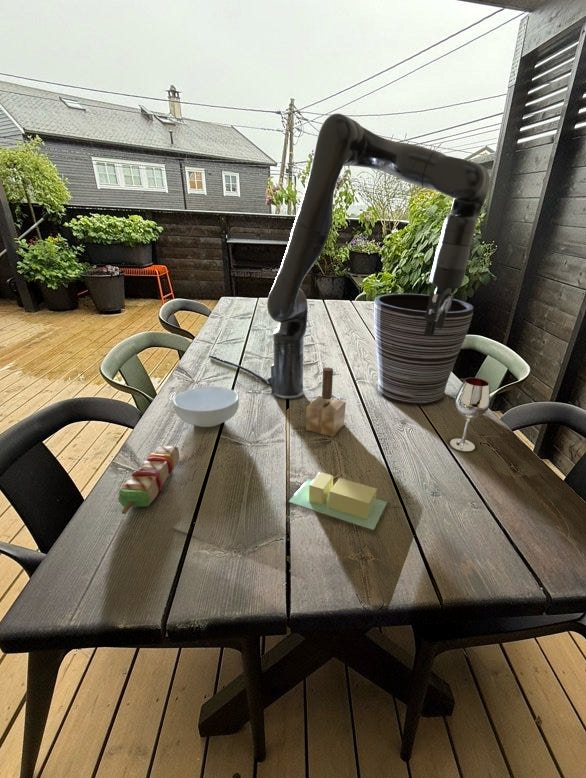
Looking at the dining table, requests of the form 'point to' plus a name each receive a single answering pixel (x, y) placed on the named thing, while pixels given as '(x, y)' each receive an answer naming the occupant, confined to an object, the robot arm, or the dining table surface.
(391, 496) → the dining table surface
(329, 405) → the knife block
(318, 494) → the butter slice
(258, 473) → the dining table surface
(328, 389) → the knife
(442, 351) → the planter pot
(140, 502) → the skewer
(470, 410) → the wineglass
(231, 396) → the cereal bowl
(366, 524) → the butter dish
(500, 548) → the dining table surface
